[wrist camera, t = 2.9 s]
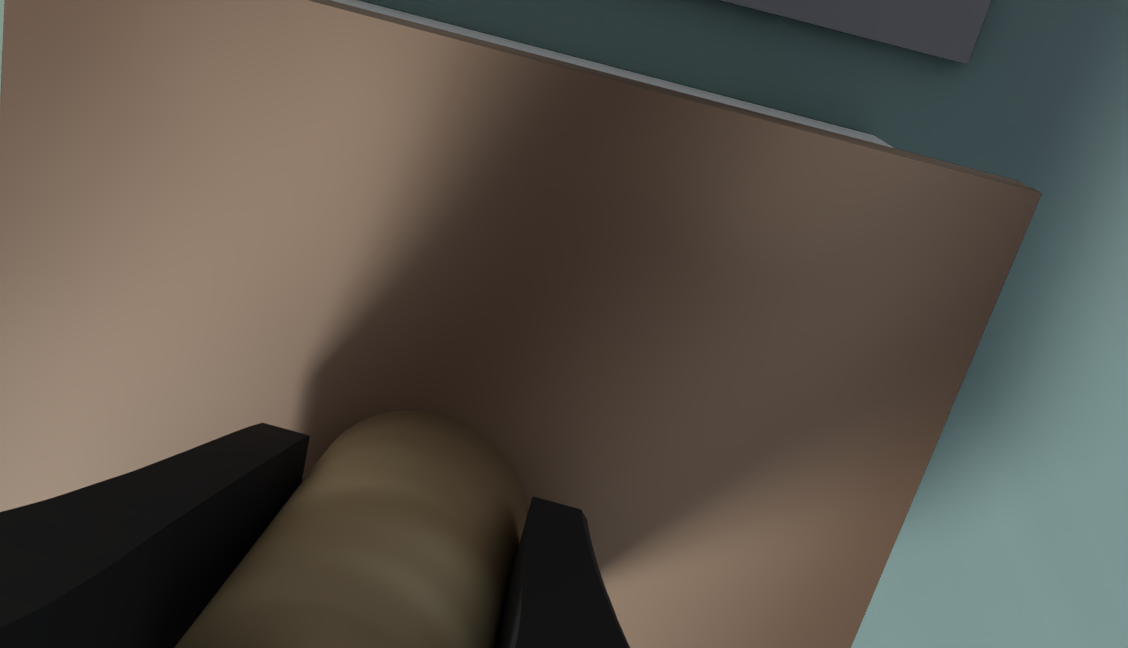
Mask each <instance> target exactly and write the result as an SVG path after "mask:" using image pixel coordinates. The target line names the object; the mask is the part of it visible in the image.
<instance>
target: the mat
mask: <svg viewBox="0 0 1128 648" xmlns="http://www.w3.org/2000/svg"><path fill="white" fill-rule="evenodd" d="M721 1H725V2H729V3H733V4H736V5H740V6H744V7H748V8H752V9H756V10H759V11H763V12H767V13H771V14H775V15H779V16H782V17H786V18H790V19H794V20H798V21H802V22H806V23H809V24H813V25H817V26H821V27H825V28H829V29H832V30H836V31H840V32H844V33H848V34H852V35H856V36H859V37H863V38H867V39H871V40H875V41H879V42H882V43H886V44H890V45H894V46H898V47H902V48H906V49H909V50H913V51H917V52H921V53H925V54H929V55H932V56H936V57H940V58H944V59H948V60H952V61H955V62H959V63H964V64H968V62H969V59H970V56H971V54H972V51H973V48H974V46H975V43H976V40H977V38H978V35H979V32H980V30H981V27H982V25H983V22H984V19H985V17H986V14H987V11H988V9H989V6H990V3H991V1H992V0H721Z"/></svg>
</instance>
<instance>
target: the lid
mask: <svg viewBox="0 0 1128 648" xmlns="http://www.w3.org/2000/svg"><path fill="white" fill-rule="evenodd" d="M1041 195H1042V193H1041V192H1039V191H1037V190H1035V189H1033V188H1031V187H1029V186H1027V185H1025V184H1023V183H1021V182H1019V181H1017V180H1013V179H1010V178H1006V177H1002V176H998V175H994V174H990V173H987V172H983V171H979V170H975V169H971V168H968V167H964V166H960V165H956V164H952V163H949V162H945V161H941V160H937V159H933V158H929V157H926V156H922V155H918V154H914V153H910V152H907V151H903V150H899V149H895V148H891V147H888V146H884V145H880V144H876V143H872V142H869V141H865V140H861V139H857V138H853V137H849V136H846V135H842V134H838V133H834V132H830V131H827V130H823V129H819V128H815V127H811V126H808V125H804V124H800V123H796V122H792V121H789V120H785V119H781V118H777V117H773V116H769V115H766V114H762V113H758V112H754V111H750V110H747V109H743V108H739V107H735V106H731V105H728V104H724V103H720V102H716V101H712V100H708V99H705V98H701V97H697V96H693V95H689V94H686V93H682V92H678V91H674V90H670V89H667V88H663V87H659V86H655V85H651V84H648V83H644V82H640V81H636V80H632V79H628V78H625V77H621V76H617V75H613V74H609V73H606V72H602V71H598V70H594V69H590V68H587V67H583V66H579V65H575V64H571V63H568V62H564V61H560V60H556V59H552V58H548V57H545V56H541V55H537V54H533V53H529V52H526V51H522V50H518V49H514V48H510V47H507V46H503V45H499V44H495V43H491V42H487V41H484V40H480V39H476V38H472V37H468V36H465V35H461V34H457V33H453V32H449V31H446V30H442V29H438V28H434V27H430V26H427V25H423V24H419V23H415V22H411V21H407V20H404V19H400V18H396V17H392V16H388V15H385V14H381V13H377V12H373V11H369V10H366V9H362V8H358V7H354V6H350V5H347V4H343V3H339V2H335V1H331V0H5V3H4V27H3V50H2V73H1V96H0V512H2V511H6V510H10V509H14V508H18V507H21V506H25V505H29V504H32V503H36V502H40V501H43V500H46V499H50V498H53V497H57V496H60V495H63V494H66V493H69V492H72V491H75V490H78V489H81V488H84V487H87V486H90V485H93V484H96V483H99V482H102V481H105V480H108V479H111V478H114V477H117V476H120V475H123V474H126V473H129V472H132V471H135V470H137V469H140V468H143V467H145V466H148V465H150V464H153V463H156V462H158V461H161V460H164V459H166V458H169V457H171V456H174V455H177V454H179V453H182V452H184V451H187V450H190V449H192V448H195V447H197V446H200V445H202V444H205V443H207V442H210V441H212V440H215V439H218V438H220V437H223V436H225V435H228V434H230V433H233V432H236V431H238V430H241V429H244V428H247V427H249V426H253V425H256V424H259V423H266V424H270V425H273V426H277V427H281V428H284V429H288V430H292V431H295V432H299V433H303V434H306V435H310V438H309V444H308V449H307V455H306V461H305V467H304V473H303V479H302V483H301V484H300V485H299V487H298V488H297V489H296V490H295V492H294V493H293V494H292V496H291V497H290V498H289V500H288V501H287V502H286V503H285V505H284V506H283V507H282V509H281V510H280V511H279V512H278V514H277V515H276V516H275V518H274V519H273V520H272V522H271V523H270V524H269V525H268V527H267V528H266V529H265V531H264V532H263V533H262V535H261V536H260V537H259V538H258V540H257V541H256V542H255V544H254V545H253V546H252V547H251V549H250V550H249V551H248V553H247V554H246V555H245V557H244V558H243V559H242V560H241V562H240V563H239V564H238V566H237V567H236V568H235V570H234V571H233V572H232V573H231V575H230V576H229V577H228V579H227V580H226V581H225V582H224V584H223V585H222V586H221V588H220V589H219V590H218V592H217V593H216V594H215V595H214V597H213V598H212V599H211V601H210V602H209V603H208V604H207V606H206V607H205V608H204V610H203V611H202V612H201V614H200V615H199V616H198V617H197V619H196V620H195V621H194V623H193V624H192V625H191V627H190V628H189V629H188V630H187V632H186V633H185V634H184V636H183V637H182V638H181V639H180V641H179V642H178V643H177V645H176V646H175V647H174V648H494V647H495V643H496V640H497V636H498V632H499V627H500V622H501V618H502V613H503V607H504V602H505V596H506V593H507V589H508V585H509V581H510V577H511V574H512V570H513V566H514V562H515V559H516V555H517V551H518V547H519V544H520V540H521V536H522V532H523V529H524V525H525V521H526V517H527V514H528V511H529V507H530V504H531V500H532V497H533V496H534V497H538V498H541V499H545V500H549V501H552V502H556V503H560V504H563V505H567V506H571V507H574V508H578V509H581V510H582V512H583V513H584V515H585V517H586V519H587V521H588V528H589V533H590V538H591V542H592V546H593V550H594V553H595V557H596V560H597V563H598V567H599V570H600V573H601V576H602V579H603V582H604V585H605V588H606V590H607V593H608V596H609V598H610V601H611V603H612V606H613V608H614V611H615V614H616V616H617V619H618V621H619V624H620V626H621V628H622V631H623V633H624V635H625V637H626V640H627V642H628V644H629V646H630V648H851V646H852V643H853V641H854V639H855V636H856V634H857V631H858V629H859V627H860V624H861V622H862V620H863V617H864V615H865V612H866V610H867V608H868V605H869V603H870V601H871V598H872V596H873V593H874V591H875V589H876V586H877V584H878V582H879V579H880V577H881V574H882V572H883V570H884V567H885V565H886V563H887V560H888V558H889V555H890V553H891V551H892V548H893V546H894V544H895V541H896V539H897V536H898V534H899V532H900V529H901V527H902V525H903V522H904V520H905V517H906V515H907V513H908V510H909V508H910V506H911V503H912V501H913V498H914V496H915V494H916V491H917V489H918V487H919V484H920V482H921V479H922V477H923V475H924V472H925V470H926V468H927V465H928V463H929V460H930V458H931V456H932V453H933V451H934V449H935V446H936V444H937V441H938V439H939V437H940V434H941V432H942V430H943V427H944V425H945V422H946V420H947V418H948V415H949V413H950V411H951V408H952V406H953V403H954V401H955V399H956V396H957V394H958V392H959V389H960V387H961V384H962V382H963V380H964V377H965V375H966V373H967V370H968V368H969V365H970V363H971V361H972V358H973V356H974V354H975V351H976V349H977V347H978V344H979V342H980V339H981V337H982V335H983V332H984V330H985V328H986V325H987V323H988V320H989V318H990V316H991V313H992V311H993V309H994V306H995V304H996V301H997V299H998V297H999V294H1000V292H1001V290H1002V287H1003V285H1004V282H1005V280H1006V278H1007V275H1008V273H1009V271H1010V268H1011V266H1012V263H1013V261H1014V259H1015V256H1016V254H1017V252H1018V249H1019V247H1020V244H1021V242H1022V240H1023V237H1024V235H1025V233H1026V230H1027V228H1028V225H1029V223H1030V221H1031V218H1032V216H1033V214H1034V211H1035V209H1036V206H1037V204H1038V202H1039V199H1040V197H1041Z"/></svg>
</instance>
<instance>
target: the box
mask: <svg viewBox="0 0 1128 648" xmlns="http://www.w3.org/2000/svg"><path fill="white" fill-rule="evenodd" d="M331 1H335V2H339V3H343V4H347V5H350V6H354V7H358V8H362V9H366V10H369V11H373V12H377V13H381V14H385V15H388V16H392V17H396V18H400V19H404V20H407V21H411V22H415V23H419V24H423V25H427V26H430V27H434V28H438V29H442V30H446V31H449V32H453V33H457V34H461V35H465V36H468V37H472V38H476V39H480V40H484V41H487V42H491V43H495V44H499V45H503V46H507V47H510V48H514V49H518V50H522V51H526V52H529V53H533V54H537V55H541V56H545V57H548V58H552V59H556V60H560V61H564V62H568V63H571V64H575V65H579V66H583V67H587V68H590V69H594V70H598V71H602V72H606V73H609V74H613V75H617V76H621V77H625V78H628V79H632V80H636V81H640V82H644V83H648V84H651V85H655V86H659V87H663V88H667V89H670V90H674V91H678V92H682V93H686V94H689V95H693V96H697V97H701V98H705V99H708V100H712V101H716V102H720V103H724V104H728V105H731V106H735V107H739V108H743V109H747V110H750V111H754V112H758V113H762V114H766V115H769V116H773V117H777V118H781V119H785V120H789V121H792V122H796V123H800V124H804V125H808V126H811V127H815V128H819V129H823V130H827V131H830V132H834V133H838V134H842V135H846V136H849V137H853V138H857V139H861V140H865V141H869V142H872V143H876V144H880V145H884V146H888V147H891V148H894V147H892V146H890V145H889V144H887V143H885V142H884V141H882V140H881V139H879V138H877V137H876V136H874V135H871V134H867V133H863V132H859V131H856V130H852V129H848V128H844V127H840V126H836V125H833V124H829V123H825V122H821V121H817V120H814V119H810V118H806V117H802V116H798V115H794V114H791V113H787V112H783V111H779V110H775V109H772V108H768V107H764V106H760V105H756V104H752V103H749V102H745V101H741V100H737V99H733V98H730V97H726V96H722V95H718V94H714V93H710V92H707V91H703V90H699V89H695V88H691V87H688V86H684V85H680V84H676V83H672V82H668V81H665V80H661V79H657V78H653V77H649V76H646V75H642V74H638V73H634V72H630V71H627V70H623V69H619V68H615V67H611V66H607V65H604V64H600V63H596V62H592V61H588V60H585V59H581V58H577V57H573V56H569V55H565V54H562V53H558V52H554V51H550V50H546V49H543V48H539V47H535V46H531V45H527V44H523V43H520V42H516V41H512V40H508V39H504V38H501V37H497V36H493V35H489V34H485V33H481V32H478V31H474V30H470V29H466V28H462V27H459V26H455V25H451V24H447V23H443V22H439V21H436V20H432V19H428V18H424V17H420V16H417V15H413V14H409V13H405V12H401V11H397V10H394V9H390V8H386V7H382V6H378V5H375V4H371V3H367V2H363V1H359V0H331Z"/></svg>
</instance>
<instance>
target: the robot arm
mask: <svg viewBox="0 0 1128 648" xmlns="http://www.w3.org/2000/svg"><path fill="white" fill-rule="evenodd" d="M309 438H310V435H306V434H303V433H299V432H295V431H292V430H288V429H284V428H281V427H277V426H273V425H270V424H266V423H259V424H256V425H253V426H249V427H247V428H244V429H241V430H238V431H236V432H233V433H230V434H228V435H225V436H223V437H220V438H218V439H215V440H212V441H210V442H207V443H205V444H202V445H200V446H197V447H195V448H192V449H190V450H187V451H184V452H182V453H179V454H177V455H174V456H171V457H169V458H166V459H164V460H161V461H158V462H156V463H153V464H150V465H148V466H145V467H143V468H140V469H137V470H135V471H132V472H129V473H126V474H123V475H120V476H117V477H114V478H111V479H108V480H105V481H102V482H99V483H96V484H93V485H90V486H87V487H84V488H81V489H78V490H75V491H72V492H69V493H66V494H63V495H60V496H57V497H53V498H50V499H46V500H43V501H40V502H36V503H32V504H29V505H25V506H21V507H18V508H14V509H10V510H6V511H2V512H0V648H174V647H175V646H176V645H177V643H178V642H179V641H180V639H181V638H182V637H183V636H184V634H185V633H186V632H187V630H188V629H189V628H190V627H191V625H192V624H193V623H194V621H195V620H196V619H197V617H198V616H199V615H200V614H201V612H202V611H203V610H204V608H205V607H206V606H207V604H208V603H209V602H210V601H211V599H212V598H213V597H214V595H215V594H216V593H217V592H218V590H219V589H220V588H221V586H222V585H223V584H224V582H225V581H226V580H227V579H228V577H229V576H230V575H231V573H232V572H233V571H234V570H235V568H236V567H237V566H238V564H239V563H240V562H241V560H242V559H243V558H244V557H245V555H246V554H247V553H248V551H249V550H250V549H251V547H252V546H253V545H254V544H255V542H256V541H257V540H258V538H259V537H260V536H261V535H262V533H263V532H264V531H265V529H266V528H267V527H268V525H269V524H270V523H271V522H272V520H273V519H274V518H275V516H276V515H277V514H278V512H279V511H280V510H281V509H282V507H283V506H284V505H285V503H286V502H287V501H288V500H289V498H290V497H291V496H292V494H293V493H294V492H295V490H296V489H297V488H298V487H299V485H300V484H301V483H302V479H303V473H304V467H305V461H306V455H307V449H308V444H309ZM494 648H630V646H629V644H628V642H627V640H626V637H625V635H624V633H623V631H622V628H621V626H620V624H619V621H618V619H617V616H616V614H615V611H614V608H613V606H612V603H611V601H610V598H609V596H608V593H607V590H606V588H605V585H604V582H603V579H602V576H601V573H600V570H599V567H598V563H597V560H596V557H595V553H594V550H593V546H592V542H591V538H590V533H589V528H588V521H587V519H586V517H585V515H584V513H583V512H582V510H581V509H578V508H574V507H571V506H567V505H563V504H560V503H556V502H552V501H549V500H545V499H541V498H538V497H534V496H533V497H532V500H531V504H530V507H529V511H528V514H527V517H526V521H525V525H524V529H523V532H522V536H521V540H520V544H519V547H518V551H517V555H516V559H515V562H514V566H513V570H512V574H511V577H510V581H509V585H508V589H507V593H506V596H505V602H504V607H503V613H502V618H501V622H500V627H499V632H498V636H497V640H496V643H495V647H494Z"/></svg>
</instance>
